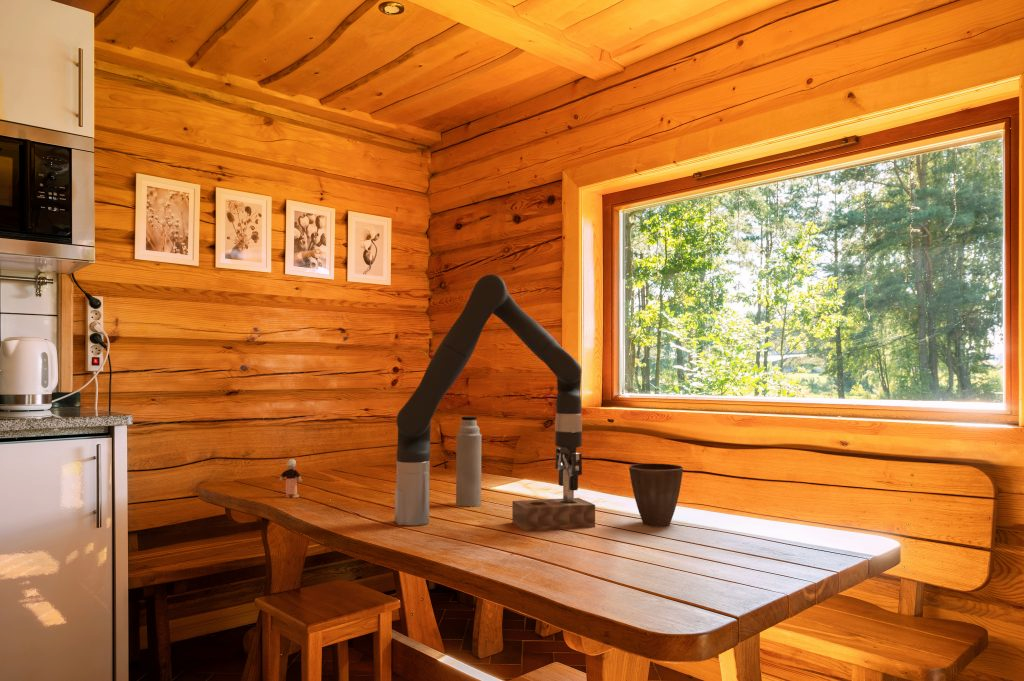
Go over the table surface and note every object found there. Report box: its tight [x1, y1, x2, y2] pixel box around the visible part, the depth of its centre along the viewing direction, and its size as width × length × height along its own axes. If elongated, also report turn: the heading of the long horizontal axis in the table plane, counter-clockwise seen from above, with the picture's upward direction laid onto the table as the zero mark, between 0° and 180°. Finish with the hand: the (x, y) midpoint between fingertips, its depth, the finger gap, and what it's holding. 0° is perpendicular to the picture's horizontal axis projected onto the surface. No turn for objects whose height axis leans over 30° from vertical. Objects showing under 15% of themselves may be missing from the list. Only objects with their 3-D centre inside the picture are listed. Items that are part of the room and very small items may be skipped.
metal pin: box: [562, 469, 575, 504], centre depth 210 cm, size 3×3×14 cm
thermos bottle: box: [455, 416, 483, 508], centre depth 240 cm, size 8×8×28 cm
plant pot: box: [628, 463, 684, 527], centre depth 211 cm, size 15×15×16 cm
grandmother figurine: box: [278, 458, 303, 499], centre depth 253 cm, size 8×4×13 cm, turn 94°
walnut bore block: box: [511, 497, 596, 532], centre depth 209 cm, size 20×12×6 cm, turn 107°
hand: (568, 487), depth 210 cm, fingers open, 8 cm apart
